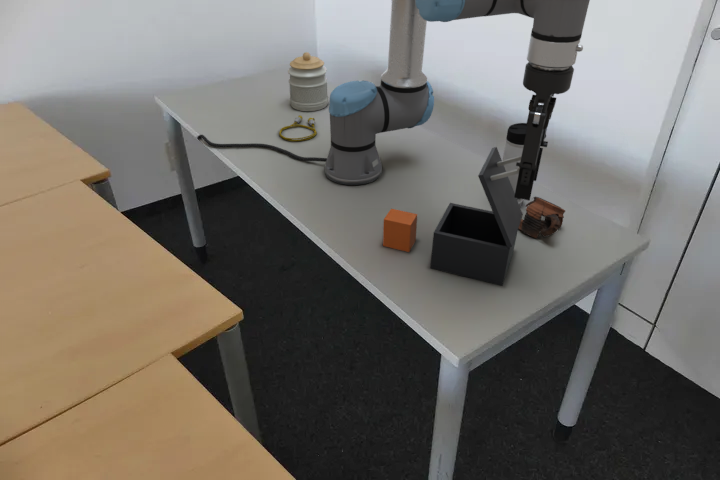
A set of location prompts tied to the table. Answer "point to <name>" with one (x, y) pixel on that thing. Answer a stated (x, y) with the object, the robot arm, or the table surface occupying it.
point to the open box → (471, 245)
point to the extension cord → (298, 120)
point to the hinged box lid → (501, 194)
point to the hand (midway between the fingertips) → (525, 187)
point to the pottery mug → (534, 214)
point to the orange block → (399, 230)
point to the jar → (308, 83)
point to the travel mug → (514, 150)
